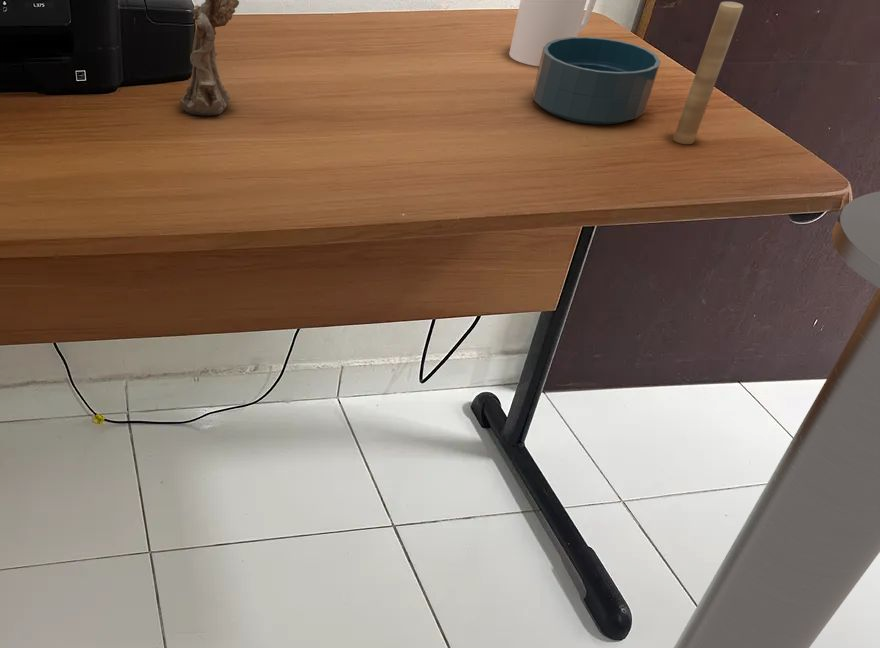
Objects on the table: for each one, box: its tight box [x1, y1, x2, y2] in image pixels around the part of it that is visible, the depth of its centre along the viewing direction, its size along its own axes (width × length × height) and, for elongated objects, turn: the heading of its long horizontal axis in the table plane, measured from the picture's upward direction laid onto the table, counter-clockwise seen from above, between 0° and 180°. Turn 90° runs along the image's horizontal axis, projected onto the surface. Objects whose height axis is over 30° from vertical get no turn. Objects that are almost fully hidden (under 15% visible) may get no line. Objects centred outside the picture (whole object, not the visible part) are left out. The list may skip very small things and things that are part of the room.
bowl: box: [531, 36, 661, 125], centre depth 106 cm, size 13×13×6 cm
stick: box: [672, 1, 744, 145], centre depth 96 cm, size 2×2×14 cm
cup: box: [508, 0, 597, 67], centre depth 119 cm, size 8×12×10 cm
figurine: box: [179, 0, 240, 117], centre depth 100 cm, size 7×6×15 cm
